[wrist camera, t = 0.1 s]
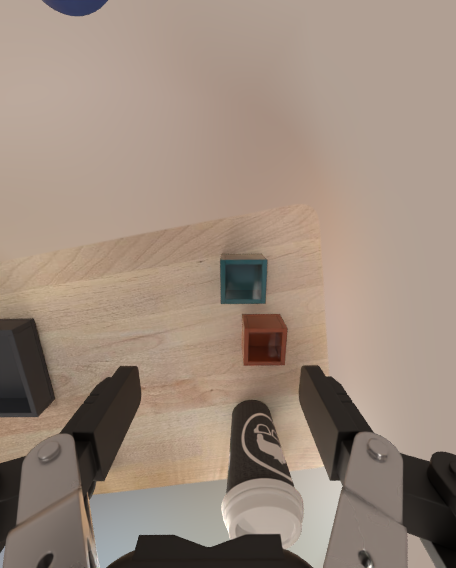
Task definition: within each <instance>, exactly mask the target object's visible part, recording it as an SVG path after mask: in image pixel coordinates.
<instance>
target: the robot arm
mask: <svg viewBox="0 0 456 568" xmlns="http://www.w3.org/2000/svg"><path fill="white" fill-rule="evenodd" d="M140 401H141V386H140V379H139V371H138V367H137V366H120V367H119V368H118V369H117V371H116V372H115V373H114V375H113V376H112V377H107V378H106V379H104V380H103V381H102V382H100V383H99V384H98V385H97V386H96V387H95V388H94V389H93V391H92V392H91V393H90V396H88V397H87V399H86V400H85V401H84V404H82V405H81V406H80V408H79V409H78V410H77V411H76V413H75V414H74V415H73V417H72V418H71V419H70V420H69V422H68V423H67V424H66V426H65V427H64V428H63V429H62V431H61V432H60V433H59V434H57V435H54V436H51V437H49V438H47V439H45V440H43V441H42V442H40V443H39V444H37V445H36V446H35V447H34V448H33V449H32V450H31V451H30V452H29V453H28V454H27V456H24V457H21V458H17V459H14V460H10V461H7V462H3V463H0V552H1V551H2V549H3V548H4V546H5V553H4V560H3V568H100V566H99V561H98V556H97V551H96V544H95V538H94V531H93V525H92V517H91V511H90V504H89V497H88V493H87V492H88V490H89V488H90V486H91V484H92V482H93V481H104V480H105V478H106V476H107V474H108V472H109V470H110V467H111V465H112V463H113V461H114V459H115V457H116V455H117V452H118V450H119V448H120V446H121V444H122V442H123V440H124V437H125V435H126V433H127V431H128V429H129V427H130V425H131V422H132V420H133V418H134V416H135V414H136V412H137V409H138V407H139V405H140ZM299 401H300V405H301V408H302V410H303V413H304V415H305V418H306V420H307V423H308V426H309V428H310V431H311V433H312V436H313V438H314V441H315V443H316V446H317V448H318V451H319V454H320V456H321V459H322V461H323V464H324V466H325V469H326V471H327V474H328V477H329V479H330V480H332V481H336V480H340V481H341V483H342V485H343V487H342V490H341V494H340V498H339V502H338V506H337V511H336V515H335V519H334V523H333V528H332V532H331V536H330V540H329V544H328V548H327V553H326V557H325V561H324V565H323V568H407V533H409V534H412V535H415V536H417V537H419V538H420V540H421V542H422V543H423V545H424V547H425V549H426V550H427V552H428V554H429V556H430V558H431V559H432V561H433V563H434V565H435V567H436V568H456V455H454V454H451V453H447V452H436V453H434V454H433V455H432V457H431V460H430V462H429V461H426V460H422V459H418V458H415V457H412V456H408V455H405V454H401V453H400V452H399V451H398V450H397V448H396V447H395V446H394V445H393V444H392V443H391V442H389V441H388V440H387V439H385V438H384V437H382V436H380V435H378V434H375V433H374V432H373V431H372V429H371V428H370V426H369V425H368V424H367V422H366V420H365V419H364V417H363V416H362V415H361V414H360V412H359V410H358V409H357V407H356V406H355V404H354V403H352V400H351V398H350V397H349V396H348V395H347V393H346V391H345V390H344V388H343V387H342V385H341V384H340V383H339V382H337V381H336V380H335V379H334V378H332V377H326V376H325V374H324V373H323V371H322V370H321V368H320V367H319V366H318V365H312V366H302V367H301V375H300V385H299ZM106 568H313V567H312V566H311V565H310V564H308V563H307V562H306V561H305V560H303V559H302V558H300V557H299V556H298V555H296V554H294V553H292V552H290V551H288V550H286V549H283V547H282V541H281V535H280V534H245V535H242V536H240V537H237V538H234V539H232V540H229V541H226V542H224V543H221V544H218V545H216V546H213V547H205V546H202V545H200V544H197V543H194V542H192V541H189V540H186V539H183V538H181V537H178V536H175V535H139V537H138V541H137V545H136V548H135V550H134V551H132V552H129V553H128V554H126V555H124V556H122V557H120V558H119V559H117V560H116V561H114V562H113V563H111V564H110V565H109V566H108V567H106Z"/></svg>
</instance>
